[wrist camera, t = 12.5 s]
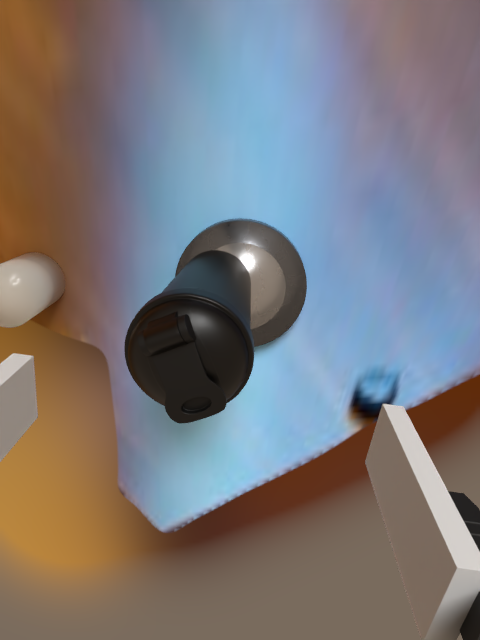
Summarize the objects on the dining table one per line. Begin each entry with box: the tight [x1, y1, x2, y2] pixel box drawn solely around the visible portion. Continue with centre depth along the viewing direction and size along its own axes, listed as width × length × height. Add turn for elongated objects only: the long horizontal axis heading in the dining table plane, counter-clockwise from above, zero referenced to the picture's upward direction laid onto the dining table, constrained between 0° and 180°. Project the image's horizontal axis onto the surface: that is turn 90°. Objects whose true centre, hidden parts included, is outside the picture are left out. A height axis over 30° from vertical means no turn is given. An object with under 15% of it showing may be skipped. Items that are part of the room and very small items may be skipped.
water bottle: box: [125, 250, 254, 423], centre depth 41 cm, size 10×10×23 cm
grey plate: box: [175, 219, 307, 347], centre depth 52 cm, size 16×16×2 cm
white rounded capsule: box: [0, 252, 65, 328], centre depth 51 cm, size 7×7×8 cm
